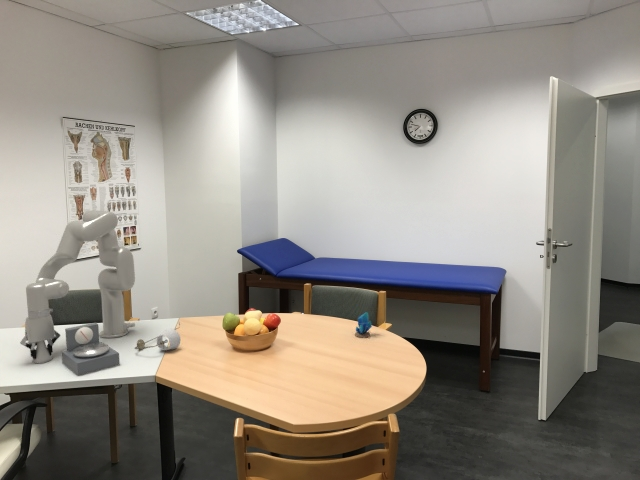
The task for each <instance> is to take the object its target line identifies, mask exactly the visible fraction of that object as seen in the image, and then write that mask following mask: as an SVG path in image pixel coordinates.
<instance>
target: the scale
mask: <svg viewBox="0 0 640 480" xmlns="http://www.w3.org/2000/svg"><path fill="white" fill-rule="evenodd" d="M99 329H100V327H99V323H98V322H92V323H87V324H82V325H77V326H72V327H67V328H65V329H64V330H65V346H66V349H65V350H61V361H62V365H64V366H65V367H66V368H68V369H69V370H70V371H72V372H73V374H75V375H76V376H77V377H79V376H83V375H87V374H90V373H96V372H99V371H102V370H105V369H109V368H113V367H117V366H120V365H121V364H120V352H118V351H116V350H115V349H113V348H112V347H110V346H109V350H108V351H107V352H106V353H104V354H101V355H98V356H93V357H77V356H75V355H74V354H73V350H74V349H75V348H77V347H79V346H82V345H86V344H93V343H103V344H105V343H104V342H102V341H100V330H99Z"/></svg>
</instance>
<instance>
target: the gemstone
mask: <svg viewBox="0 0 640 480" xmlns="http://www.w3.org/2000/svg"><path fill="white" fill-rule="evenodd" d="M369 316H370V315H369V313H368V312H367V311H366V312H364V313H362V314H361V315H360V316H358V317H357V325H358V326H357V325H356V327H355V333H354V336H355V337H356V338H359V339H367V338H369V337H370V336H371V333H370V332H369V330H370V329H371V328H372V325H373V324H372V321H371V320H369V318H370V317H369Z"/></svg>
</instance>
